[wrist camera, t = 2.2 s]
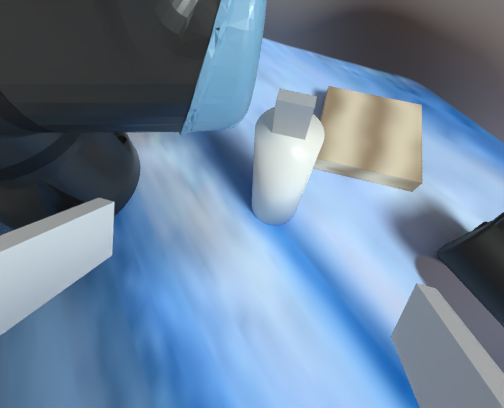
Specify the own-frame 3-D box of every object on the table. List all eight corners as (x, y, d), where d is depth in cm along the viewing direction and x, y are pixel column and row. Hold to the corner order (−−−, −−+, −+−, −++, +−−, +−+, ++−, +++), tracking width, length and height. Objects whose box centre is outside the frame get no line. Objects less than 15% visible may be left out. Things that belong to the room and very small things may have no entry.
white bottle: (246, 218, 30) (247, 118, 16) (258, 180, 32) (267, 64, 18) (291, 230, 29) (331, 137, 16) (300, 191, 31) (341, 79, 18)
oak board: (309, 167, 33) (313, 157, 31) (324, 98, 38) (328, 86, 36) (412, 191, 31) (422, 182, 30) (413, 116, 37) (421, 105, 35)
